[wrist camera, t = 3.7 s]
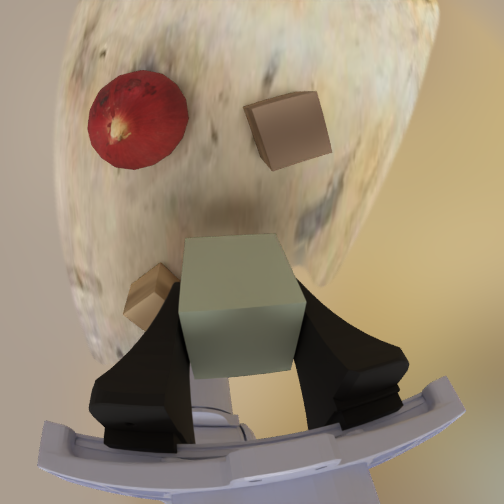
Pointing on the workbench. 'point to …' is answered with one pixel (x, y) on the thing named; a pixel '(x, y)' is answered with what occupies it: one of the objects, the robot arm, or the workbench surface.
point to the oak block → (148, 295)
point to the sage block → (239, 306)
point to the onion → (137, 119)
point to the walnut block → (289, 129)
